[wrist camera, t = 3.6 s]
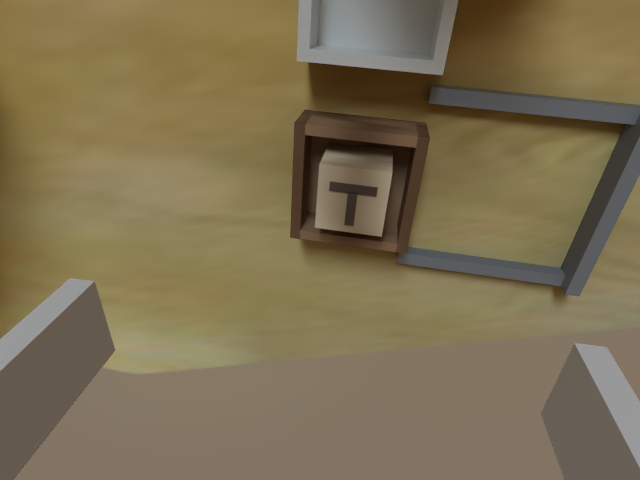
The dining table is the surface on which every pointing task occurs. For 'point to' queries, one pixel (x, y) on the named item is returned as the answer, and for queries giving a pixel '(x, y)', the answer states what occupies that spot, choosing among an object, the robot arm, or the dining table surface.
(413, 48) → the grey tub
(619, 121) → the slate bay
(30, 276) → the dining table surface
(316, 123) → the walnut box
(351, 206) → the letter cube
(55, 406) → the robot arm
